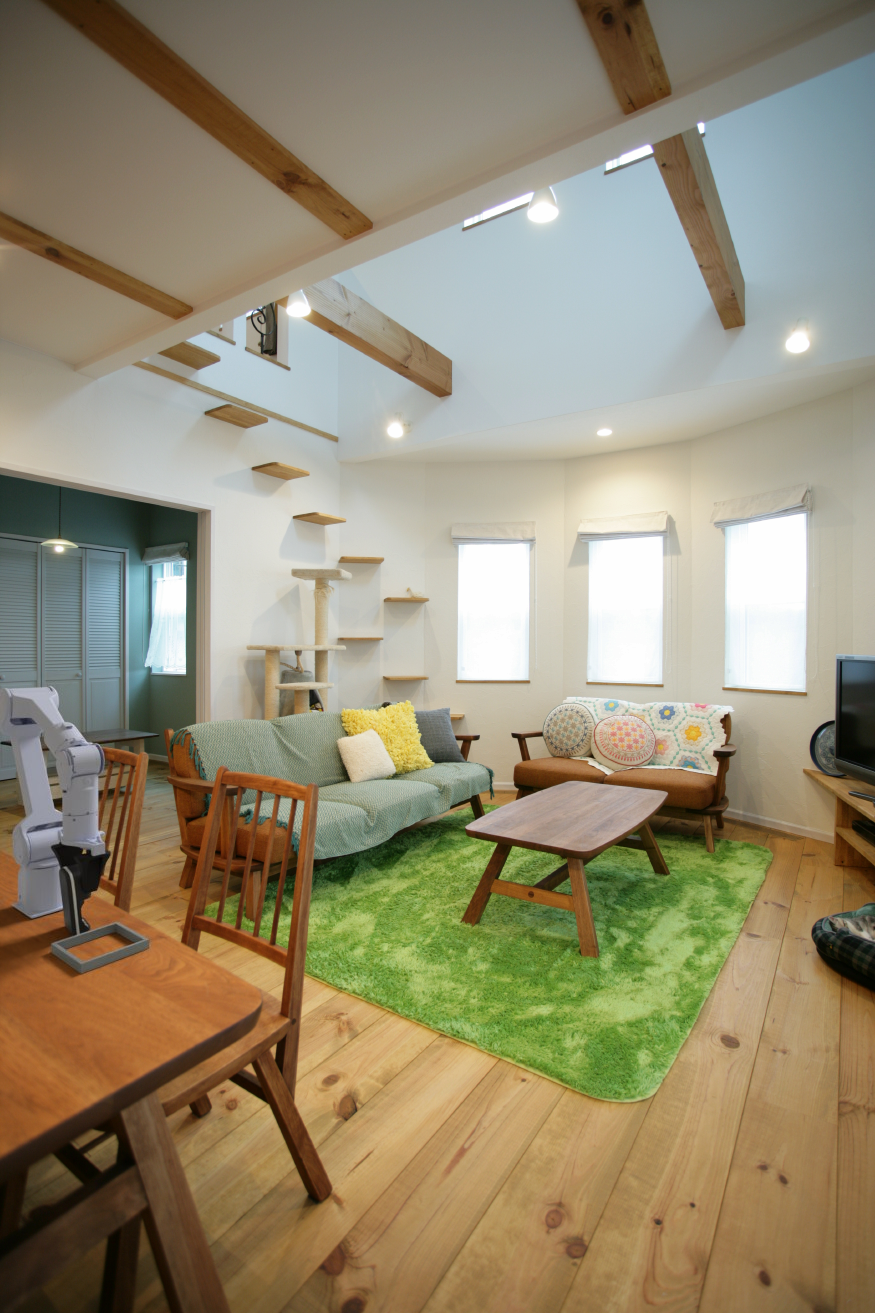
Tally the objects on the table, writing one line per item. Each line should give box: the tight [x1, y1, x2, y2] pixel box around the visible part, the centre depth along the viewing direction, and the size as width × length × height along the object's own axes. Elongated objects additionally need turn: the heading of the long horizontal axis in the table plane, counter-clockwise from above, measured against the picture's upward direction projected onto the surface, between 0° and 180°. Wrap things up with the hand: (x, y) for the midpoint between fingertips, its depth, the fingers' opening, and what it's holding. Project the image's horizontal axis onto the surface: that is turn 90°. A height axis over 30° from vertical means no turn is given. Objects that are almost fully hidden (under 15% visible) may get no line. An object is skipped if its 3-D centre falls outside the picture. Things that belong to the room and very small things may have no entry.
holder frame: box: [50, 921, 150, 975], centre depth 111 cm, size 11×11×2 cm
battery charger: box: [59, 864, 92, 937], centre depth 119 cm, size 7×4×11 cm, turn 41°
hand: (80, 886), depth 119 cm, fingers open, 7 cm apart
